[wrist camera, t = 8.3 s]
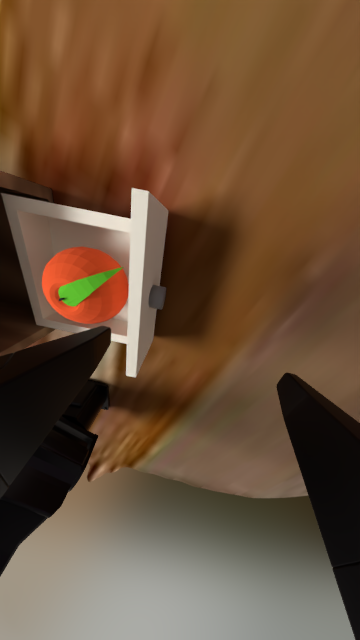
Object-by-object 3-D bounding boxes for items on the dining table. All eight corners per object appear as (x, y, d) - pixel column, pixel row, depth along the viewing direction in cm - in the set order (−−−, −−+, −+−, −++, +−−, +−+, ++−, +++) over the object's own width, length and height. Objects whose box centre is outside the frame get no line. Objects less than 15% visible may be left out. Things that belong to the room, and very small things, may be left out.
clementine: (122, 226, 16) (70, 216, 9) (158, 289, 18) (136, 315, 12) (66, 264, 18) (-7, 277, 12) (104, 315, 20) (62, 350, 14)
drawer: (161, 341, 22) (147, 380, 16) (62, 321, 22) (11, 351, 16) (180, 213, 15) (169, 195, 9) (38, 185, 15) (-66, 149, 9)
